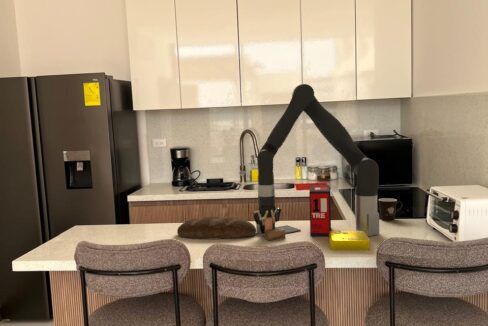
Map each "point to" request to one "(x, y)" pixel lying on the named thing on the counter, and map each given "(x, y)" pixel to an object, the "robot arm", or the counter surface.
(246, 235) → the bread
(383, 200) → the coffee mug
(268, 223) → the terracotta cylinder
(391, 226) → the counter surface
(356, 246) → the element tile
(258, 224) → the blue-grey cube
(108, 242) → the counter surface
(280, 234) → the walnut block
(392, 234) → the counter surface
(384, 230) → the counter surface
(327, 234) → the cleaning product box
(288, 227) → the charcoal mat
